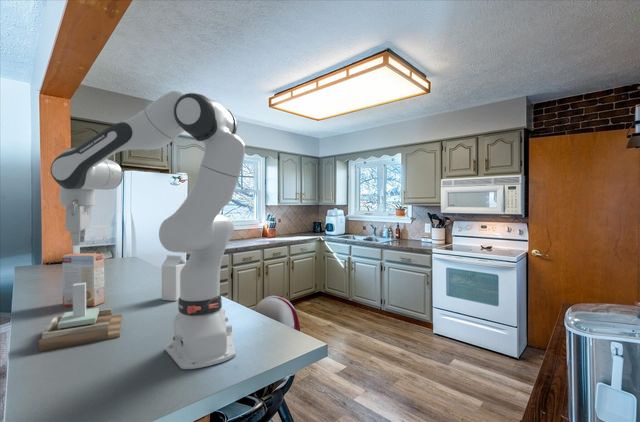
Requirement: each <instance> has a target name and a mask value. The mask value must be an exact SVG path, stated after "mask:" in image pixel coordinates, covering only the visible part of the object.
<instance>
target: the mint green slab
mask: <svg viewBox="0 0 640 422" xmlns="http://www.w3.org/2000/svg"><path fill="white" fill-rule="evenodd" d="M99 310H100V308H99V307H94V308H87V306H86V282H85V283H75V284H74V285H73V306H72V311H67V312H64V313H63V317H62V318H61V320H60V321H59V323H58V329H60V328H61V330H65V329H68V327H72V326H79V325H85V324H88V326H90V325H94V323H96V320H97V317H98V314H99Z"/></svg>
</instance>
